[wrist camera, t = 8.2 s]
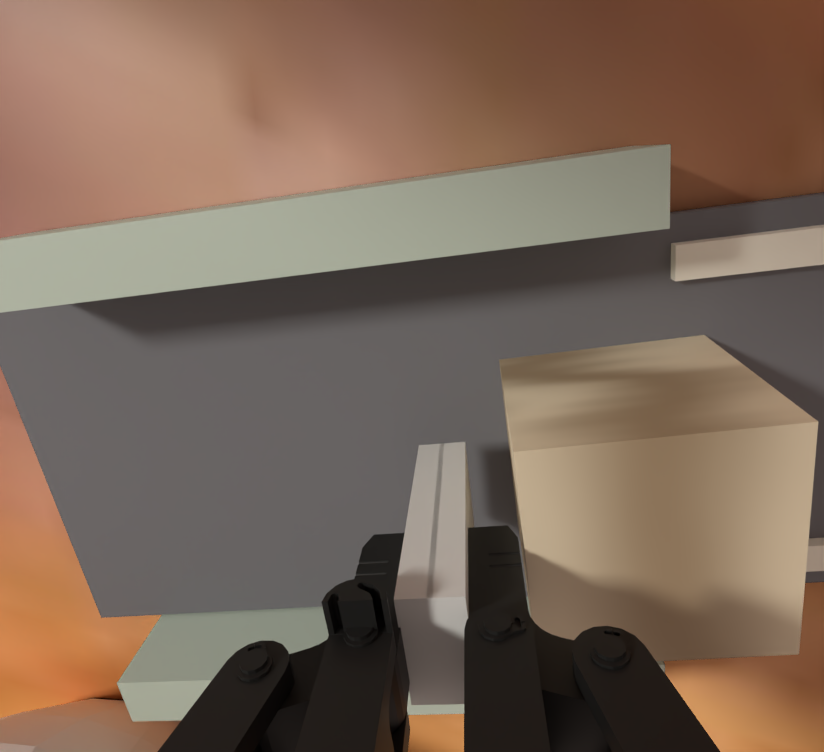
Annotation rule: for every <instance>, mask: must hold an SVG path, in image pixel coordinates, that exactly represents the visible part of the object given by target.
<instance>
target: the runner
mask: <svg viewBox="0 0 824 752" xmlns="http://www.w3.org/2000/svg"><path fill="white" fill-rule="evenodd" d="M699 335H705V336H706V337H708V338H709V339H710V340H712V341H713V342H714V343H716V344H717V345H718V346H720V347H721V348H722V349H724V350H725V351H726V352H728V353H729V354H730V355H731V356H733V357H734V358H735V359H737V360H738V361H739V362H741V363H742V364H743V365H745V366H746V367H747V368H749V369H750V370H751V371H752V372H754V373H755V374H756V375H758V376H759V377H760V378H762V379H763V380H764V381H766V382H767V383H768V384H770V385H771V386H772V387H774V388H775V389H776V390H777V391H779V392H780V393H781V394H783V395H784V396H785V397H787V398H788V399H789V400H791V401H792V402H793V403H795V404H796V405H797V406H799V407H800V408H801V409H802V410H804V411H805V412H806V413H808V414H809V415H810V416H812V417H813V418H814V419H816V420H817V421H818V433H817V445H816V457H815V469H814V481H813V493H812V505H811V517H810V529H809V541H808V553H807V565H806V577H805V583H811V582H824V192H823V193H815V194H807V195H799V196H792V197H784V198H776V199H768V200H761V201H753V202H745V203H738V204H730V205H722V206H714V207H707V208H699V209H691V210H683V211H676V212H670V228H669V229H661V230H654V231H646V232H638V233H630V234H622V235H614V236H606V237H598V238H590V239H582V240H574V241H566V242H558V243H550V244H542V245H534V246H526V247H518V248H511V249H503V250H495V251H487V252H479V253H471V254H463V255H455V256H447V257H439V258H431V259H423V260H415V261H407V262H399V263H391V264H383V265H375V266H368V267H360V268H352V269H344V270H336V271H328V272H320V273H312V274H304V275H296V276H288V277H280V278H272V279H264V280H256V281H248V282H240V283H232V284H225V285H217V286H209V287H201V288H193V289H185V290H177V291H169V292H161V293H153V294H145V295H137V296H129V297H121V298H113V299H105V300H97V301H89V302H82V303H74V304H66V305H58V306H50V307H42V308H34V309H26V310H18V311H10V312H2V313H0V366H1V369H2V371H3V374H4V376H5V379H6V381H7V384H8V386H9V389H10V391H11V394H12V396H13V399H14V401H15V404H16V406H17V409H18V411H19V414H20V416H21V418H22V421H23V423H24V426H25V428H26V431H27V433H28V436H29V438H30V441H31V443H32V446H33V448H34V451H35V453H36V456H37V458H38V461H39V463H40V466H41V468H42V471H43V473H44V476H45V478H46V481H47V483H48V486H49V488H50V491H51V493H52V496H53V498H54V501H55V503H56V506H57V508H58V511H59V513H60V516H61V518H62V521H63V523H64V526H65V528H66V531H67V533H68V536H69V538H70V541H71V543H72V546H73V548H74V551H75V553H76V555H77V558H78V560H79V563H80V565H81V568H82V570H83V573H84V575H85V578H86V580H87V583H88V585H89V588H90V590H91V593H92V595H93V598H94V600H95V603H96V605H97V608H98V610H99V613H100V615H101V618H102V617H122V616H143V615H163V614H183V613H204V612H224V611H244V610H264V609H285V608H305V607H322V600H323V599H324V597H325V595H326V593H327V592H329V591H330V590H331V589H332V588H334V587H335V586H336V585H338V584H340V583H343V582H345V581H347V580H352V579H354V578H355V576H356V570H357V567H358V565H359V559H360V555H361V551H362V548H363V546H364V545H365V544H366V543H367V542H368V541H369V540H370V538H371V537H372V536H373V535H376V534H393V533H405V527H406V521H407V515H408V509H409V503H410V496H411V490H412V484H413V478H414V472H415V466H416V460H417V454H418V448H419V445H429V444H442V443H455V442H465V444H466V453H467V462H468V472H469V481H470V490H471V499H472V508H473V517H474V527H488V526H505V525H508V526H509V527H510V529H511V530H512V531H513V532H514V533H515V534H516V536H517V537H518V541H519V548H520V556H521V563H522V570H523V577H524V584H525V591H526V597H528V593H527V586H526V579H525V571H524V564H523V557H522V550H521V543H520V535H519V528H518V520H517V511H516V503H515V494H514V485H513V477H512V468H511V459H510V451H509V442H508V433H507V425H506V416H505V407H504V399H503V390H502V381H501V373H500V364H499V360H501V359H509V358H517V357H525V356H534V355H542V354H550V353H558V352H567V351H575V350H583V349H591V348H600V347H608V346H616V345H624V344H633V343H641V342H649V341H657V340H666V339H674V338H682V337H690V336H699Z"/></svg>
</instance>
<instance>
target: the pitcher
mask: <svg viewBox="0 0 824 752" xmlns="http://www.w3.org/2000/svg"><path fill="white" fill-rule="evenodd" d="M180 722H181V720H179V721H137V722H133V721H132V719H131V717H130V714H129V712H128V709H127V707H126V704H125V702H124V701H123V700H108V699H93V698H92V699H87V700H82V701H77V702H72V703H66V704H61V705H56V706H51V707H46V708H41V709H36V710H31V711H26V712H21V713H18V714H14V715H10V716H7V717H3V718H0V752H158V750H159V749H160V748H161V747H162V745H163V744H164V743H165V741H166V740H167V739H168V737H169V736H170V735H171V733H172V732H173V731H174V729H175V728H176V727H177V726H178V724H179V723H180Z"/></svg>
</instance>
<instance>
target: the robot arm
mask: <svg viewBox="0 0 824 752" xmlns="http://www.w3.org/2000/svg"><path fill="white" fill-rule="evenodd" d="M322 607H323V611H324V616H325V620H326V625H327V629H328V634H329V636H328V639H327V640H325V641H324V642H322V643H320V644H319V645H316V646H313V647H311V648H308V649H305V650H301V651H298V652H295V653H291V654H289V652H288V650H287V649H286V648H285V647H284V645H283V644H281V643H278V642H276V641H258V642H254V643H251V644H248V645H246V646H245V647H243V648H241V649H240V650H238V651H236V652H235V653H234V654H233V655H232V656H231V657H230V658H229V659H228V660H227V661H226V663H225V664H224V665H223V667H222V668H221V669H220V670H219V672H218V673H217V674H216V676H215V677H214V678H213V680H212V681H211V682H210V684H209V685H208V686H207V688H206V689H205V690H204V691H203V693H202V694H201V695H200V697H199V698H198V699H197V701H196V702H195V703H194V705H193V706H192V707H191V708H190V710H189V711H188V712H187V714H186V715H185V716H184V718H183V719H182V720H181V722H180V723H179V724H178V726H177V727H176V728H175V729H174V731H173V732H172V733H171V735H170V736H169V737H168V739H167V740H166V741H165V743H164V744H163V745H162V747H161V748H160V749H159V750H158V752H408V745H409V735H410V725H409V718H408V712H407V704H408V695H409V692H410V698H411V704H412V705H448V704H464V752H720V751H719V749H718V748H717V746H716V745H715V744H714V742H713V741H712V739H711V738H710V736H709V735H708V734H707V732H706V731H705V729H704V728H703V727H702V725H701V724H700V722H699V721H698V720H697V718H696V717H695V715H694V714H693V713H692V711H691V710H690V708H689V707H688V705H687V704H686V703H685V701H684V700H683V698H682V697H681V696H680V694H679V693H678V691H677V690H676V689H675V687H674V686H673V684H672V683H671V682H670V680H669V679H668V677H667V676H666V674H665V673H664V672H663V670H662V669H661V667H660V666H659V665H658V663H657V662H656V660H655V659H654V658H653V656H652V655H651V653H650V652H649V650H648V649H647V648H646V646H645V645H644V644H643V643H642V642H641V641H640V640H639V639H638V638H637V637H636V636H635V635H633V634H631V633H629V632H627V631H625V630H623V629H621V628H616V627H611V626H597V627H592V628H589V629H587V630H585V631H582V632H581V633H580V634H579V635H578V636H577V637H576V639H575V640H571V639H566V638H562V637H558V636H555V635H552V634H550V633H548V632H546V631H544V630H543V629H541V628H540V627H539V626H538V625H537V624H535V622H534V621H533V619H532V618H531V617H530V614H529V611H528V605H527V598H526V591H525V584H524V577H523V570H522V563H521V556H520V548H519V541H518V537H517V536H516V534H515V533H514V532H513V531H512V530H511V529H510V527H509V526H508V525H505V526H488V527H474V517H473V508H472V499H471V490H470V481H469V472H468V462H467V453H466V444H465V442H455V443H442V444H429V445H419V448H418V454H417V460H416V466H415V472H414V478H413V484H412V490H411V496H410V503H409V509H408V515H407V521H406V527H405V533H393V534H376V535H373V536H372V537H371V538H370V540H369V541H368V542H367V543H366V544H365V545H364V546H363V548H362V551H361V555H360V559H359V565H358V567H357V570H356V576H355V578H354V579H352V580H347V581H345V582H343V583H340V584H338V585H336V586H335V587H334V588H332V589H331V590H330V591H329V592H327V593H326V595H325V597H324V599H323V600H322Z"/></svg>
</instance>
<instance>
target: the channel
mask: <svg viewBox="0 0 824 752" xmlns="http://www.w3.org/2000/svg"><path fill="white" fill-rule="evenodd" d="M670 165H671V144H664V145H643V146H627V147H620V148H613V149H606V150H599V151H592V152H585V153H578V154H571V155H564V156H557V157H551V158H544V159H537V160H530V161H523V162H516V163H509V164H502V165H495V166H488V167H481V168H474V169H468V170H461V171H454V172H447V173H440V174H433V175H426V176H419V177H412V178H405V179H398V180H391V181H385V182H378V183H371V184H364V185H357V186H350V187H343V188H336V189H329V190H322V191H315V192H308V193H302V194H295V195H288V196H281V197H274V198H267V199H260V200H253V201H246V202H239V203H232V204H225V205H219V206H212V207H205V208H198V209H191V210H184V211H177V212H170V213H163V214H156V215H149V216H142V217H135V218H129V219H122V220H115V221H108V222H101V223H94V224H87V225H80V226H73V227H66V228H59V229H52V230H46V231H39V232H32V233H26V234H21V235H15V236H10V237H4V238H0V313H2V312H10V311H18V310H26V309H34V308H42V307H50V306H58V305H66V304H74V303H82V302H89V301H97V300H105V299H113V298H121V297H129V296H137V295H145V294H153V293H161V292H169V291H177V290H185V289H193V288H201V287H209V286H217V285H225V284H232V283H240V282H248V281H256V280H264V279H272V278H280V277H288V276H296V275H304V274H312V273H320V272H328V271H336V270H344V269H352V268H360V267H368V266H375V265H383V264H391V263H399V262H407V261H415V260H423V259H431V258H439V257H447V256H455V255H463V254H471V253H479V252H487V251H495V250H503V249H511V248H518V247H526V246H534V245H542V244H550V243H558V242H566V241H574V240H582V239H590V238H598V237H606V236H614V235H622V234H630V233H638V232H646V231H654V230H661V229H669V228H670ZM526 598H527V605H528V611H529V614H530V608H529V600H528V597H526ZM530 617H531V615H530ZM328 636H329V634H328V629H327V625H326V620H325V616H324V611H323V607H305V608H285V609H264V610H244V611H224V612H204V613H183V614H163V615H162V616H161V617H160V619H159V620H158V622H157V623H156V625H155V626H154V628H153V629H152V631H151V632H150V634H149V635H148V637H147V638H146V640H145V641H144V643H143V644H142V646H141V647H140V649H139V650H138V652H137V653H136V655H135V656H134V658H133V659H132V661H131V663H130V664H129V666H128V667H127V669H126V670H125V672H124V673H123V675H122V676H121V678H120V679H119V681H118V682H117V685H118V687H119V690H120V692H121V695H122V697H123V700H124V702H125V704H126V707H127V709H128V712H129V714H130V717H131V719H132V721H133V722H137V721H179V720H182V719H183V718H184V716H185V715H186V714H187V712H188V711H189V710H190V708H191V707H192V706H193V705H194V703H195V702H196V701H197V699H198V698H199V697H200V695H201V694H202V693H203V691H204V690H205V689H206V688H207V686H208V685H209V684H210V682H211V681H212V680H213V678H214V677H215V676H216V674H217V673H218V672H219V670H220V669H221V668H222V667H223V665H224V664H225V663H226V661H227V660H228V659H229V658H230V657H231V656H232V655H233V654H234V653H235V652H236V651H238V650H240V649H241V648H243V647H245V646H246V645H248V644H251V643H254V642H258V641H276V642H278V643H281V644H283V645H284V647H285V648H286V649H287V650H288V652H289V654H291V653H295V652H298V651H301V650H305V649H308V648H311V647H313V646H316V645H319V644H320V643H322V642H324V641H325V640H327V639H328ZM656 662H657V663H658V665H659V666H660V667H661V669H662V670H663V672H664V673H665V664H664V661H656ZM407 712H408V715H428V714H464V704H448V705H412V704H411V698H410V692H409V695H408V704H407Z"/></svg>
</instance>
